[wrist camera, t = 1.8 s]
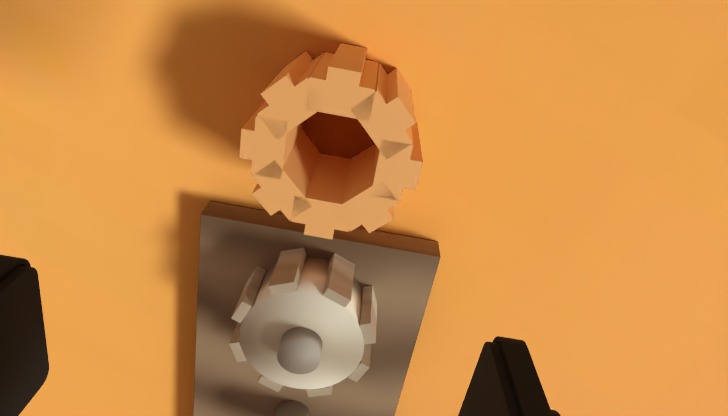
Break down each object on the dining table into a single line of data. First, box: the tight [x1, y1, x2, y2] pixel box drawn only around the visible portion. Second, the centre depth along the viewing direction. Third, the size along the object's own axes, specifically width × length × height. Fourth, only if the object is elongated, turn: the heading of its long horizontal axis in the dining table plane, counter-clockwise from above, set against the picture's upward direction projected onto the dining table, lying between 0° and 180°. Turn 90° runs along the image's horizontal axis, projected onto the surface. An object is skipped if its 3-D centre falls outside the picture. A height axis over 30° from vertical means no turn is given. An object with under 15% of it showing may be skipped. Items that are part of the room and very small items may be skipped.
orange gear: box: [239, 43, 423, 239], centre depth 22 cm, size 7×7×5 cm
